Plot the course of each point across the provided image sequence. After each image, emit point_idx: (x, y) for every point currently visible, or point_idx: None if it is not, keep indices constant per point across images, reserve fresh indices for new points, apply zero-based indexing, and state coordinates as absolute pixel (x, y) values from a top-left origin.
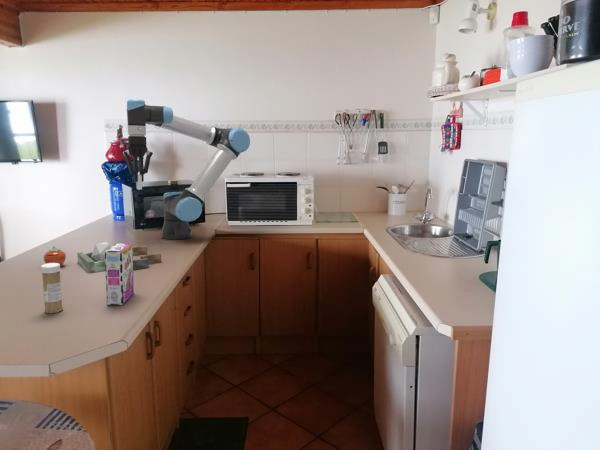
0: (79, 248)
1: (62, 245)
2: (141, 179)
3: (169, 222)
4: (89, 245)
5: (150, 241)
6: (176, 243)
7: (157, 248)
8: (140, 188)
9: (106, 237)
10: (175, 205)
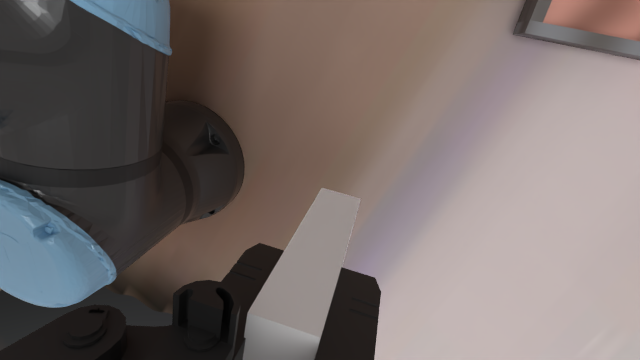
0: (566, 254)
1: (568, 335)
2: (283, 255)
3: (188, 167)
4: (504, 268)
5: (303, 162)
6: (247, 53)
7: (356, 24)
8: (337, 196)
9: (379, 325)
10: (126, 51)
